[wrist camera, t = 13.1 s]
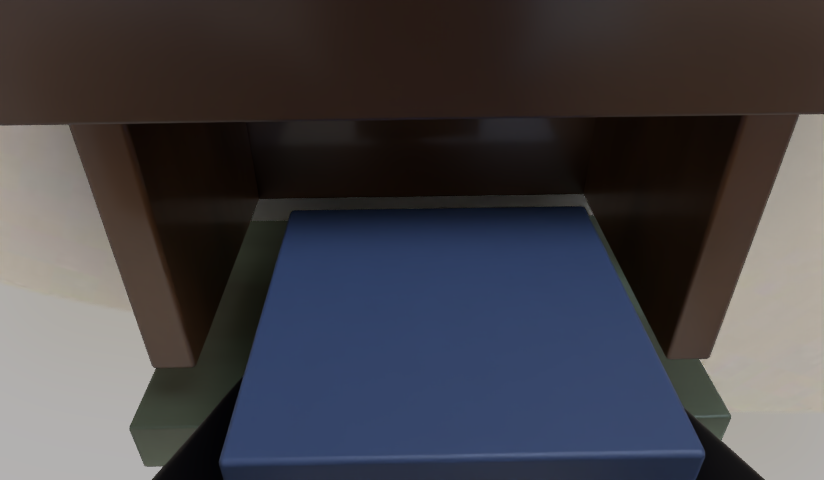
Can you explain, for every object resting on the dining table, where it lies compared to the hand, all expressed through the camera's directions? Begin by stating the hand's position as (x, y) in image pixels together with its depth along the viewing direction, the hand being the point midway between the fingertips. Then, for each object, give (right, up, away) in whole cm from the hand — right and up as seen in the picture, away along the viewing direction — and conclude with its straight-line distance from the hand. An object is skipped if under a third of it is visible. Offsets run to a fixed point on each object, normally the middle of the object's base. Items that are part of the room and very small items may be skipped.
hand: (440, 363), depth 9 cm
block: (0, +1, +1) cm, 1 cm away
